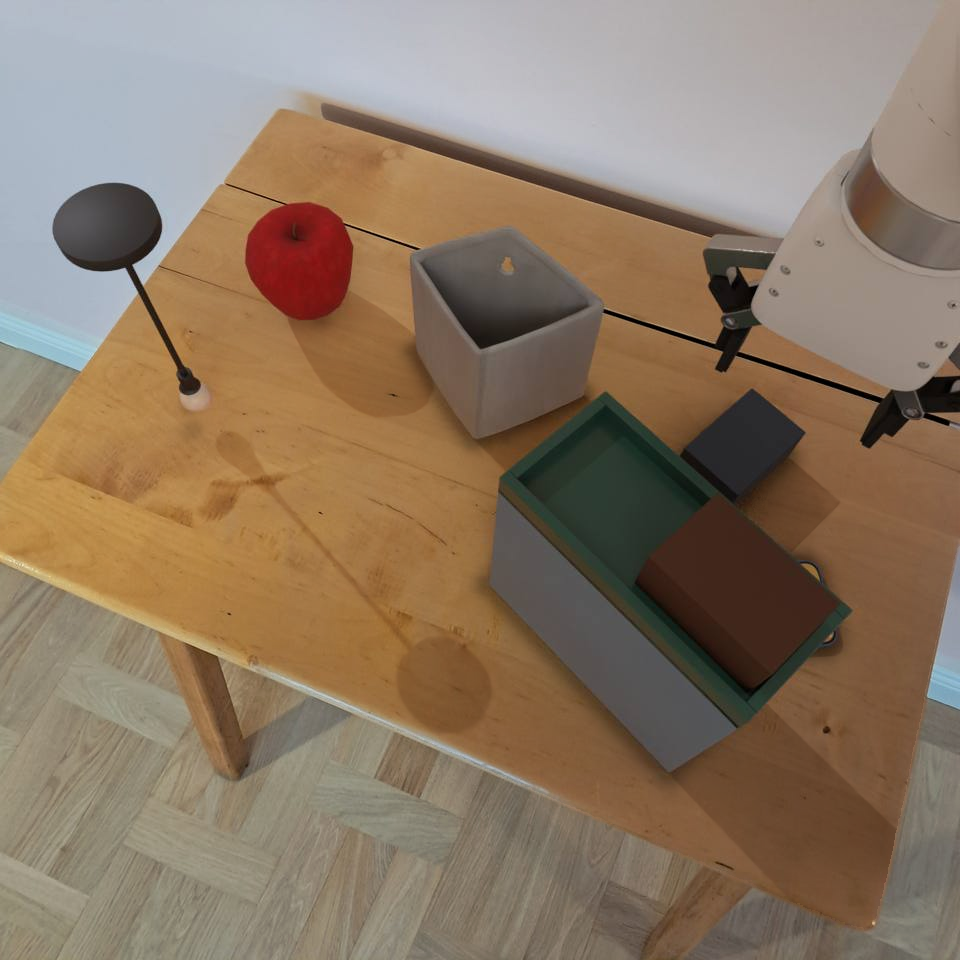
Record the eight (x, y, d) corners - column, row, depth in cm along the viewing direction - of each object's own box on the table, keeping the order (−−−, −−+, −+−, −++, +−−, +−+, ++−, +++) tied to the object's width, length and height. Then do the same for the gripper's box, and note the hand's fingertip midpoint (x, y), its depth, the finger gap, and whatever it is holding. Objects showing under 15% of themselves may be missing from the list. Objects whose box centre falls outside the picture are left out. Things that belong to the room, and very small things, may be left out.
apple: (316, 245, 88) (298, 163, 78) (382, 299, 85) (372, 220, 75) (239, 302, 84) (211, 223, 75) (305, 360, 82) (284, 285, 72)
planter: (389, 416, 79) (370, 277, 62) (418, 347, 83) (407, 197, 65) (562, 464, 77) (592, 336, 60) (584, 391, 81) (618, 250, 63)
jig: (839, 620, 53) (853, 610, 51) (737, 729, 50) (748, 722, 48) (601, 406, 59) (605, 390, 57) (497, 491, 56) (498, 476, 54)
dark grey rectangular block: (788, 456, 78) (806, 432, 74) (723, 517, 75) (738, 495, 71) (737, 413, 80) (752, 387, 76) (671, 471, 77) (683, 447, 73)
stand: (750, 688, 69) (839, 620, 53) (668, 773, 66) (737, 729, 50) (570, 514, 75) (601, 406, 59) (488, 584, 72) (497, 491, 56)
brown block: (698, 522, 55) (718, 491, 51) (811, 626, 52) (841, 602, 48) (633, 582, 53) (648, 555, 49) (746, 693, 50) (772, 674, 46)
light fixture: (176, 457, 77) (59, 272, 54) (161, 396, 79) (45, 196, 57) (250, 436, 78) (166, 246, 55) (234, 376, 81) (148, 172, 58)
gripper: (1154, 218, 38) (952, 413, 54) (791, 64, 42) (700, 289, 57) (1110, 337, 35) (910, 507, 51) (724, 161, 39) (647, 370, 54)
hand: (799, 391), depth 54 cm, fingers open, 9 cm apart
